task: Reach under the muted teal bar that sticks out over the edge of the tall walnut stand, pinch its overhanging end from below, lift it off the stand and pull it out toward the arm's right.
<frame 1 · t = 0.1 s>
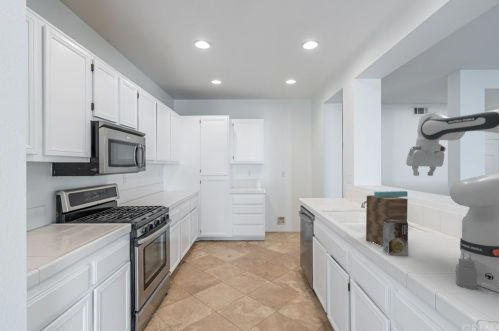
hand: (423, 175, 118), 39 cm above the worktop, tool pointing down, fingers open, 8 cm apart
walnut stand: (385, 243, 137), on the worktop
power adapter: (466, 286, 89), on the worktop
coffee box: (395, 253, 122), on the worktop
teal bar: (391, 196, 137), point 26 cm above the worktop, touching walnut stand
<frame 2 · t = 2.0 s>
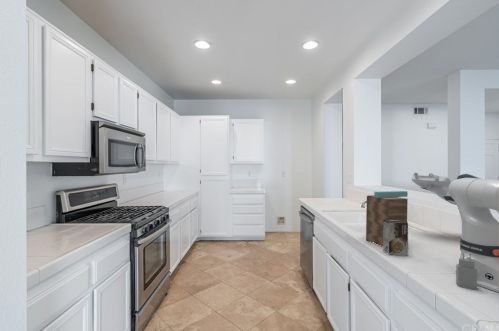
hand: (422, 174, 144), 39 cm above the worktop, tool pointing upward, fingers open, 8 cm apart
nothing on the worktop moved.
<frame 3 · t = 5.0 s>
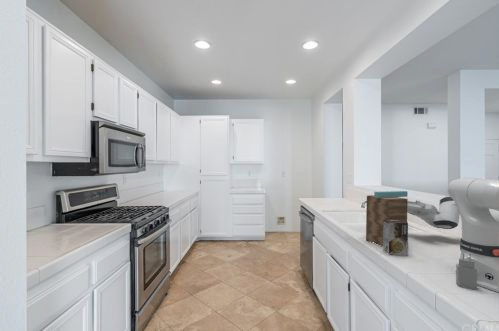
hand: (408, 200, 142), 23 cm above the worktop, tool pointing upward, fingers open, 8 cm apart
nothing on the worktop moved.
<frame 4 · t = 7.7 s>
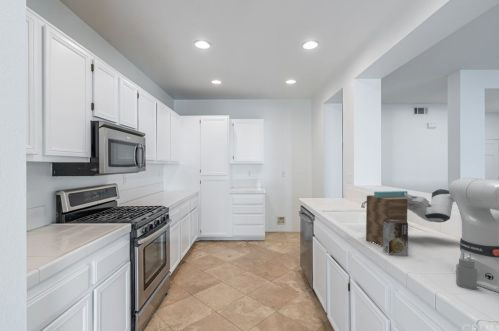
hand: (400, 193, 140), 28 cm above the worktop, tool pointing upward, fingers closed on teal bar, 3 cm apart
teal bar: (391, 196, 137), point 26 cm above the worktop, touching gripper
everything else where it was.
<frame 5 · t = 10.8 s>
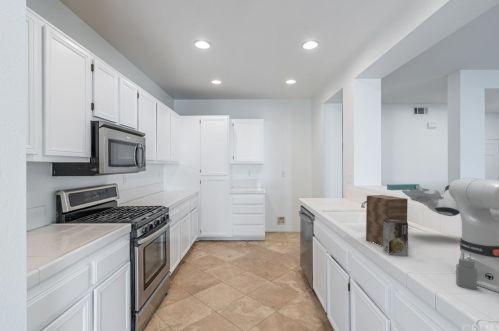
hand: (412, 186, 142), 32 cm above the worktop, tool pointing upward, fingers closed on teal bar, 3 cm apart
teal bar: (403, 189, 140), point 30 cm above the worktop, touching gripper
everything else where it was.
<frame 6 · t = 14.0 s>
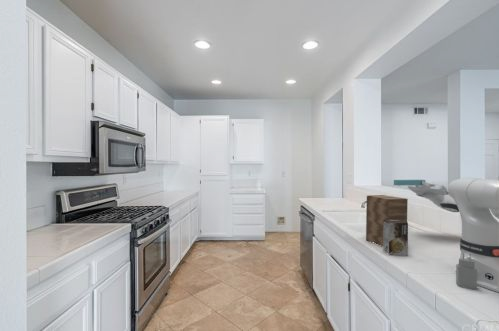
hand: (418, 181, 144), 34 cm above the worktop, tool pointing upward, fingers closed on teal bar, 3 cm apart
teal bar: (409, 185, 142), point 32 cm above the worktop, touching gripper
everything else where it was.
at the end: teal bar moved 15.4 cm from its start; teal bar point 32.5 cm above the worktop; the gripper is holding teal bar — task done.
